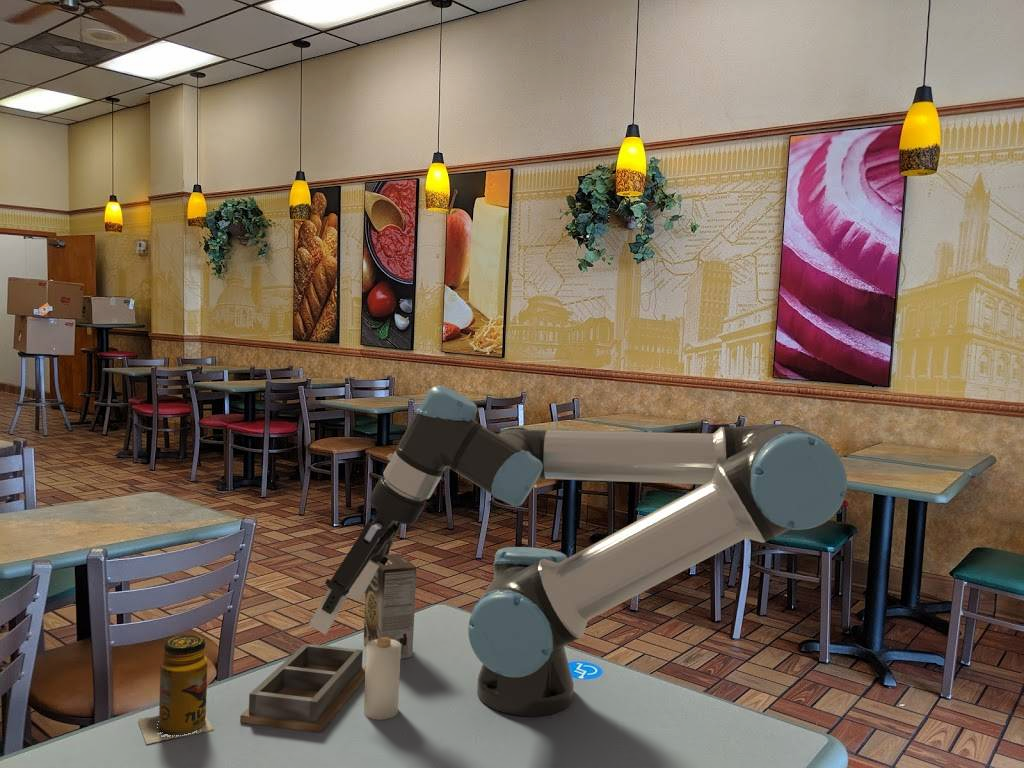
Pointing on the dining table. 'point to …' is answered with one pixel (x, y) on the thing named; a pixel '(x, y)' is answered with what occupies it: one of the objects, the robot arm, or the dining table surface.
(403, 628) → the coffee box
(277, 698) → the grey wooden tray
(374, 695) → the cylinder
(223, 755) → the dining table surface
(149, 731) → the condiment
